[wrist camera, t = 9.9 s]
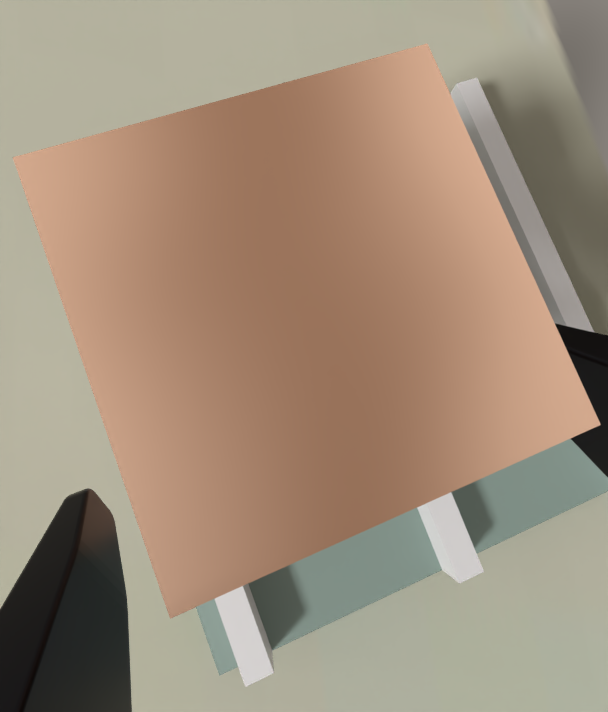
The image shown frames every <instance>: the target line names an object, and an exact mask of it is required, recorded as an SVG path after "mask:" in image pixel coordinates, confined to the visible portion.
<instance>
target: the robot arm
mask: <svg viewBox="0 0 608 712" xmlns="http://www.w3.org/2000/svg"><path fill="white" fill-rule="evenodd" d="M555 325H556V327H557V330H558V332H559V334H560V336H561V338H562V341H563V343H564V345H565V347H566V349H567V352H568V354H569V356H570V358H571V360H572V363H573V365H574V367H575V369H576V371H577V374H578V376H579V378H580V380H581V382H582V385H583V387H584V389H585V391H586V393H587V396H588V398H589V400H590V402H591V404H592V406H593V409H594V411H595V413H596V415H597V417H598V420H599V422H600V424H601V425H599V426H597V427H595V428H593V429H590V430H588V431H586V432H584V433H582V434H579V435H577V436H575V437H573V438H570V439H571V440H572V441H573V442H574V443H575V444H576V445H577V446H578V447H579V448H580V449H581V450H582V451H583V452H584V453H585V454H586V456H587V457H588V458H589V459H590V460H591V461H592V462H593V463H594V464H595V465H596V466H597V467H598V468H599V469H600V470H601V471H602V472H603V473H604V474H605V475H606V476H607V478H608V336H607V335H603V334H599V333H594V332H590V331H586V330H582V329H577V328H573V327H569V326H564V325H560V324H556V323H555ZM0 712H132V705H131V680H130V655H129V631H128V608H127V596H126V589H125V582H124V576H123V570H122V564H121V557H120V551H119V545H118V539H117V533H116V527H115V521H114V518H113V515H112V513H111V512H110V510H109V509H108V508H107V506H106V505H105V504H104V503H103V502H102V500H101V499H100V498H99V497H98V495H97V494H96V493H95V492H94V491H93V490H92V489H84V490H82V491H79V492H76V493H74V494H71V495H69V496H68V497H67V498H66V499H65V500H64V501H63V503H62V505H61V507H60V508H59V510H58V512H57V513H56V515H55V517H54V518H53V520H52V522H51V524H50V525H49V527H48V529H47V530H46V532H45V534H44V536H43V537H42V539H41V541H40V542H39V544H38V546H37V547H36V549H35V551H34V553H33V554H32V556H31V558H30V559H29V561H28V563H27V564H26V566H25V568H24V570H23V571H22V573H21V575H20V576H19V578H18V580H17V581H16V583H15V585H14V587H13V588H12V590H11V592H10V593H9V595H8V597H7V598H6V600H5V602H4V604H3V605H2V607H1V609H0Z"/></svg>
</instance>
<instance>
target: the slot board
mask: <svg viewBox="0 0 608 712" xmlns="http://www.w3.org/2000/svg"><path fill="white" fill-rule="evenodd" d="M450 95H451V97H452V99H453V101H454V103H455V106H456V108H457V110H458V112H459V114H460V117H461V119H462V121H463V123H464V125H465V128H466V130H467V132H468V134H469V136H470V139H471V141H472V143H473V145H474V147H475V149H476V152H477V154H478V156H479V158H480V160H481V163H482V165H483V167H484V169H485V171H486V174H487V176H488V178H489V180H490V182H491V185H492V187H493V189H494V191H495V193H496V196H497V198H498V200H499V202H500V204H501V207H502V209H503V211H504V213H505V215H506V218H507V220H508V222H509V224H510V226H511V229H512V231H513V233H514V235H515V237H516V240H517V242H518V244H519V246H520V248H521V251H522V253H523V255H524V257H525V259H526V262H527V264H528V266H529V268H530V270H531V272H532V275H533V277H534V279H535V281H536V283H537V286H538V288H539V290H540V292H541V294H542V297H543V299H544V301H545V303H546V305H547V308H548V310H549V312H550V314H551V316H552V319H553V321H554V323H556V324H560V325H564V326H569V327H573V328H577V329H582V330H586V331H590V332H594V330H593V328H592V326H591V324H590V322H589V319H588V317H587V315H586V313H585V311H584V308H583V306H582V304H581V302H580V300H579V298H578V295H577V293H576V291H575V289H574V287H573V285H572V282H571V280H570V278H569V276H568V274H567V272H566V269H565V267H564V265H563V263H562V261H561V259H560V256H559V254H558V252H557V250H556V248H555V246H554V243H553V241H552V239H551V237H550V235H549V233H548V230H547V228H546V226H545V224H544V222H543V220H542V217H541V215H540V213H539V211H538V209H537V207H536V204H535V202H534V200H533V198H532V196H531V193H530V191H529V189H528V187H527V185H526V183H525V180H524V178H523V176H522V174H521V172H520V170H519V167H518V165H517V163H516V161H515V159H514V157H513V154H512V152H511V150H510V148H509V146H508V144H507V141H506V139H505V137H504V135H503V133H502V131H501V128H500V126H499V124H498V122H497V120H496V118H495V115H494V113H493V111H492V109H491V107H490V105H489V102H488V100H487V98H486V96H485V94H484V92H483V89H482V87H481V85H480V83H479V81H478V78H474V79H470V80H467V81H463V82H460V83H456V85H455V87H454V88H453V90H452V92H451V93H450ZM594 333H595V332H594ZM607 491H608V478H607V476H606V475H605V474H604V473H603V472H602V471H601V470H600V469H599V468H598V467H597V466H596V465H595V464H594V463H593V462H592V461H591V460H590V459H589V458H588V457H587V456H586V454H585V453H584V452H583V451H582V450H581V449H580V448H579V447H578V446H577V445H576V444H575V443H574V442H573V441H572V440H571V439H568V440H566V441H564V442H562V443H559V444H557V445H555V446H553V447H550V448H548V449H546V450H544V451H541V452H539V453H537V454H535V455H533V456H530V457H528V458H526V459H524V460H521V461H519V462H517V463H515V464H513V465H510V466H508V467H506V468H504V469H501V470H499V471H497V472H495V473H493V474H490V475H488V476H486V477H484V478H481V479H479V480H477V481H475V482H473V483H470V484H468V485H466V486H464V487H461V488H459V489H457V490H455V491H453V492H450V493H448V494H446V495H444V496H441V497H439V498H437V499H435V500H433V501H430V502H428V503H426V504H424V505H421V506H419V507H417V508H415V509H413V510H410V511H408V512H406V513H404V514H401V515H399V516H397V517H395V518H393V519H390V520H388V521H386V522H384V523H381V524H379V525H377V526H375V527H373V528H370V529H368V530H366V531H364V532H361V533H359V534H357V535H355V536H353V537H350V538H348V539H346V540H344V541H341V542H339V543H337V544H335V545H333V546H330V547H328V548H326V549H324V550H321V551H319V552H317V553H315V554H313V555H310V556H308V557H306V558H304V559H301V560H299V561H297V562H295V563H293V564H290V565H288V566H286V567H284V568H281V569H279V570H277V571H275V572H273V573H270V574H268V575H266V576H264V577H261V578H259V579H257V580H255V581H253V582H250V583H248V584H246V585H244V586H241V587H239V588H237V589H235V590H233V591H230V592H228V593H226V594H224V595H221V596H219V597H217V598H215V599H213V600H210V601H208V602H206V603H204V604H201V605H199V606H197V607H196V609H197V612H198V615H199V618H200V620H201V623H202V626H203V629H204V632H205V635H206V638H207V641H208V644H209V647H210V649H211V652H212V655H213V658H214V661H215V664H216V667H217V670H218V673H219V676H220V675H222V674H224V673H226V672H228V671H230V670H232V669H234V668H236V667H238V668H239V671H240V673H241V676H242V679H243V682H244V685H245V687H246V686H248V685H250V684H252V683H254V682H257V681H259V680H261V679H263V678H265V677H267V676H269V675H271V674H273V673H274V667H273V654H272V650H274V649H276V648H279V647H281V646H283V645H285V644H287V643H289V642H291V641H293V640H295V639H298V638H300V637H302V636H304V635H306V634H308V633H310V632H312V631H314V630H316V629H319V628H321V627H323V626H325V625H327V624H329V623H331V622H333V621H335V620H338V619H340V618H342V617H344V616H346V615H348V614H350V613H352V612H354V611H357V610H359V609H361V608H363V607H365V606H367V605H369V604H371V603H373V602H375V601H378V600H380V599H382V598H384V597H386V596H388V595H390V594H392V593H394V592H397V591H399V590H401V589H403V588H405V587H407V586H409V585H411V584H413V583H415V582H418V581H420V580H422V579H424V578H426V577H428V576H430V575H432V574H434V573H437V572H439V571H441V570H443V571H444V572H446V573H447V574H448V575H449V576H451V577H452V578H453V579H454V580H456V581H457V582H458V583H461V582H464V581H466V580H468V579H470V578H472V577H474V576H476V575H478V574H480V573H482V572H484V570H483V568H482V566H481V563H480V561H479V558H478V556H477V553H479V552H481V551H483V550H485V549H487V548H489V547H491V546H493V545H496V544H498V543H500V542H502V541H504V540H506V539H508V538H510V537H512V536H514V535H517V534H519V533H521V532H523V531H525V530H527V529H529V528H531V527H533V526H536V525H538V524H540V523H542V522H544V521H546V520H548V519H550V518H552V517H555V516H557V515H559V514H561V513H563V512H565V511H567V510H569V509H571V508H573V507H576V506H578V505H580V504H582V503H584V502H586V501H588V500H590V499H592V498H595V497H597V496H599V495H601V494H603V493H605V492H607Z"/></svg>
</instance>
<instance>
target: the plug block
mask: <svg viewBox="0 0 608 712" xmlns="http://www.w3.org/2000/svg"><path fill="white" fill-rule="evenodd" d="M13 159H14V162H15V165H16V168H17V171H18V174H19V177H20V180H21V183H22V186H23V189H24V192H25V194H26V197H27V200H28V203H29V206H30V209H31V212H32V215H33V218H34V221H35V224H36V227H37V230H38V233H39V235H40V238H41V241H42V244H43V247H44V250H45V253H46V256H47V259H48V262H49V265H50V268H51V271H52V274H53V276H54V279H55V282H56V285H57V288H58V291H59V294H60V297H61V300H62V303H63V306H64V309H65V312H66V315H67V317H68V320H69V323H70V326H71V329H72V332H73V335H74V338H75V341H76V344H77V347H78V350H79V353H80V356H81V359H82V361H83V364H84V367H85V370H86V373H87V376H88V379H89V382H90V385H91V388H92V391H93V394H94V397H95V400H96V402H97V405H98V408H99V411H100V414H101V417H102V420H103V423H104V426H105V429H106V432H107V435H108V438H109V441H110V443H111V446H112V449H113V452H114V455H115V458H116V461H117V464H118V467H119V470H120V473H121V476H122V479H123V482H124V484H125V487H126V490H127V493H128V496H129V499H130V502H131V505H132V508H133V511H134V514H135V517H136V520H137V523H138V525H139V528H140V531H141V534H142V537H143V540H144V543H145V546H146V549H147V552H148V555H149V558H150V561H151V564H152V566H153V569H154V572H155V575H156V578H157V581H158V584H159V587H160V590H161V593H162V596H163V599H164V602H165V605H166V608H167V610H168V613H169V616H170V618H173V617H175V616H177V615H179V614H181V613H184V612H186V611H188V610H190V609H193V608H195V607H197V606H199V605H201V604H204V603H206V602H208V601H210V600H213V599H215V598H217V597H219V596H221V595H224V594H226V593H228V592H230V591H233V590H235V589H237V588H239V587H241V586H244V585H246V584H248V583H250V582H253V581H255V580H257V579H259V578H261V577H264V576H266V575H268V574H270V573H273V572H275V571H277V570H279V569H281V568H284V567H286V566H288V565H290V564H293V563H295V562H297V561H299V560H301V559H304V558H306V557H308V556H310V555H313V554H315V553H317V552H319V551H321V550H324V549H326V548H328V547H330V546H333V545H335V544H337V543H339V542H341V541H344V540H346V539H348V538H350V537H353V536H355V535H357V534H359V533H361V532H364V531H366V530H368V529H370V528H373V527H375V526H377V525H379V524H381V523H384V522H386V521H388V520H390V519H393V518H395V517H397V516H399V515H401V514H404V513H406V512H408V511H410V510H413V509H415V508H417V507H419V506H421V505H424V504H426V503H428V502H430V501H433V500H435V499H437V498H439V497H441V496H444V495H446V494H448V493H450V492H453V491H455V490H457V489H459V488H461V487H464V486H466V485H468V484H470V483H473V482H475V481H477V480H479V479H481V478H484V477H486V476H488V475H490V474H493V473H495V472H497V471H499V470H501V469H504V468H506V467H508V466H510V465H513V464H515V463H517V462H519V461H521V460H524V459H526V458H528V457H530V456H533V455H535V454H537V453H539V452H541V451H544V450H546V449H548V448H550V447H553V446H555V445H557V444H559V443H562V442H564V441H566V440H568V439H570V438H573V437H575V436H577V435H579V434H582V433H584V432H586V431H588V430H590V429H593V428H595V427H597V426H599V425H601V424H600V422H599V420H598V417H597V415H596V413H595V411H594V409H593V406H592V404H591V402H590V400H589V398H588V396H587V393H586V391H585V389H584V387H583V385H582V382H581V380H580V378H579V376H578V374H577V371H576V369H575V367H574V365H573V363H572V360H571V358H570V356H569V354H568V352H567V349H566V347H565V345H564V343H563V341H562V338H561V336H560V334H559V332H558V330H557V327H556V325H555V323H554V321H553V319H552V316H551V314H550V312H549V310H548V308H547V305H546V303H545V301H544V299H543V297H542V294H541V292H540V290H539V288H538V286H537V283H536V281H535V279H534V277H533V275H532V272H531V270H530V268H529V266H528V264H527V262H526V259H525V257H524V255H523V253H522V251H521V248H520V246H519V244H518V242H517V240H516V237H515V235H514V233H513V231H512V229H511V226H510V224H509V222H508V220H507V218H506V215H505V213H504V211H503V209H502V207H501V204H500V202H499V200H498V198H497V196H496V193H495V191H494V189H493V187H492V185H491V182H490V180H489V178H488V176H487V174H486V171H485V169H484V167H483V165H482V163H481V160H480V158H479V156H478V154H477V152H476V149H475V147H474V145H473V143H472V141H471V139H470V136H469V134H468V132H467V130H466V128H465V125H464V123H463V121H462V119H461V117H460V114H459V112H458V110H457V108H456V106H455V103H454V101H453V99H452V97H451V95H450V92H449V90H448V88H447V86H446V84H445V81H444V79H443V77H442V75H441V73H440V70H439V68H438V66H437V64H436V62H435V59H434V57H433V55H432V53H431V51H430V48H429V46H428V44H424V45H421V46H417V47H413V48H410V49H406V50H402V51H399V52H395V53H392V54H388V55H384V56H381V57H377V58H373V59H370V60H366V61H362V62H359V63H355V64H351V65H348V66H344V67H341V68H337V69H333V70H330V71H326V72H322V73H319V74H315V75H311V76H308V77H304V78H300V79H297V80H293V81H290V82H286V83H282V84H279V85H275V86H271V87H268V88H264V89H260V90H257V91H253V92H249V93H246V94H242V95H239V96H235V97H231V98H228V99H224V100H220V101H217V102H213V103H209V104H206V105H202V106H198V107H195V108H191V109H188V110H184V111H180V112H177V113H173V114H169V115H166V116H162V117H158V118H155V119H151V120H147V121H144V122H140V123H137V124H133V125H129V126H126V127H122V128H118V129H115V130H111V131H107V132H104V133H100V134H96V135H93V136H89V137H86V138H82V139H78V140H75V141H71V142H67V143H64V144H60V145H56V146H53V147H49V148H45V149H42V150H38V151H35V152H31V153H27V154H24V155H20V156H16V157H13Z"/></svg>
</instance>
